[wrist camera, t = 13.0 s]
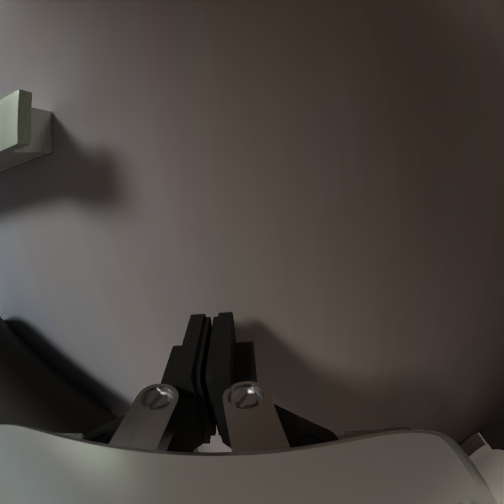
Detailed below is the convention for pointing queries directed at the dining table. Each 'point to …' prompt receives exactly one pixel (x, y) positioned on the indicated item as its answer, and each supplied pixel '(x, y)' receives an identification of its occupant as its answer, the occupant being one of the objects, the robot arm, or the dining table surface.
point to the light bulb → (487, 464)
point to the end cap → (42, 392)
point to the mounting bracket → (23, 130)
